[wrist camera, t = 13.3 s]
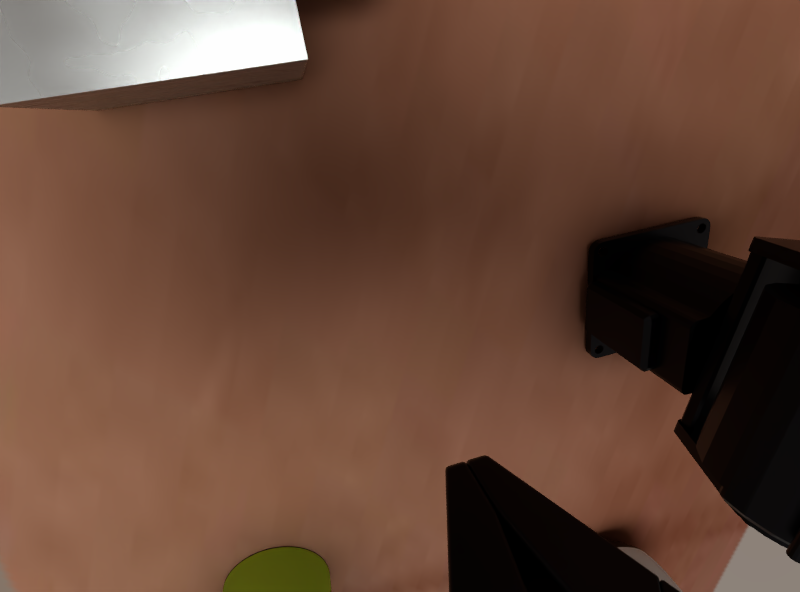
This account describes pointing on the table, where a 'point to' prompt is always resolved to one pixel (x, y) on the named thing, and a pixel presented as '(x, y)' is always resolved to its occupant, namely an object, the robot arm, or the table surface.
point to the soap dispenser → (280, 572)
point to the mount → (143, 50)
